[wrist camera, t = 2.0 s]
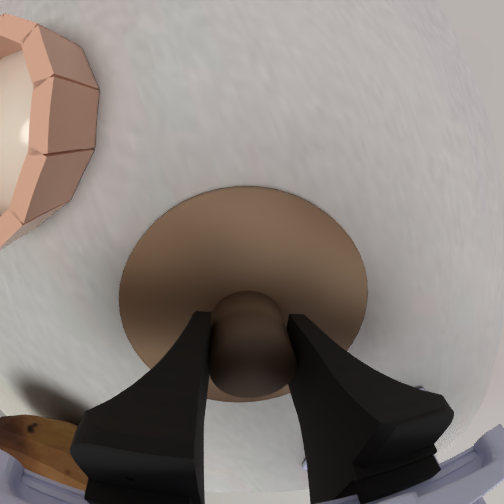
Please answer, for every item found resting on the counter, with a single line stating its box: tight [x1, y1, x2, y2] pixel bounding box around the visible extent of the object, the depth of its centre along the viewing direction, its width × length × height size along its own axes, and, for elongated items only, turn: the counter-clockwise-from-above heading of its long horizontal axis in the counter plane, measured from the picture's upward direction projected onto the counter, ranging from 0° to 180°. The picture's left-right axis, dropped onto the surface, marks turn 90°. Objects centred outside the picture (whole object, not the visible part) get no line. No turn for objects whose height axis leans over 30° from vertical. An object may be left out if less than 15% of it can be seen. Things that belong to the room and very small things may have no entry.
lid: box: [119, 186, 368, 402], centre depth 11 cm, size 11×11×4 cm
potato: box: [0, 415, 88, 491], centre depth 12 cm, size 8×13×8 cm, turn 32°
